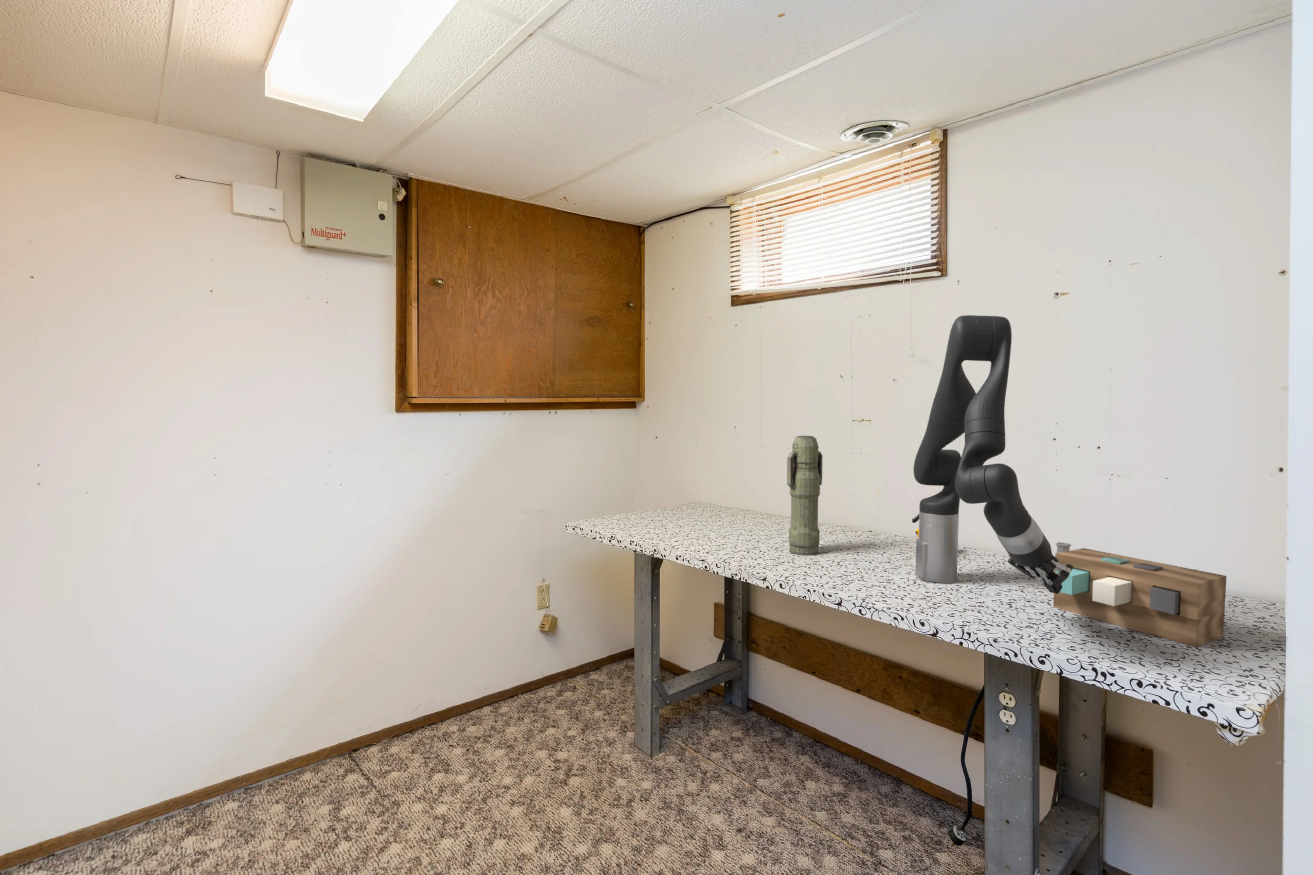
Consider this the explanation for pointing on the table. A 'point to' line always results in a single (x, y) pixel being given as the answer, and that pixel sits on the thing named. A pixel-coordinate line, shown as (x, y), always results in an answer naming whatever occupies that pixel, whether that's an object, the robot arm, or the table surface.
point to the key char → (1165, 600)
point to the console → (1197, 601)
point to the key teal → (1076, 582)
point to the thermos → (804, 495)
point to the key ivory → (1112, 591)
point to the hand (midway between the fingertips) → (1056, 589)
